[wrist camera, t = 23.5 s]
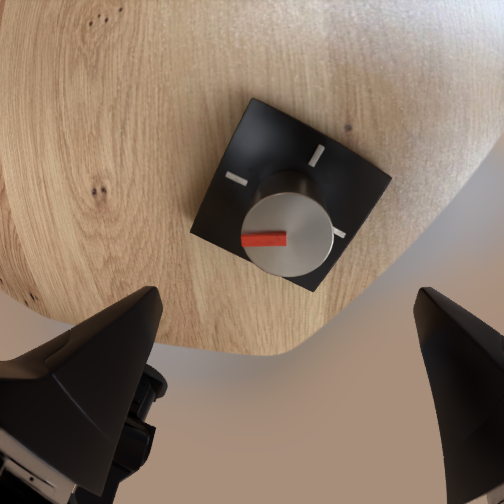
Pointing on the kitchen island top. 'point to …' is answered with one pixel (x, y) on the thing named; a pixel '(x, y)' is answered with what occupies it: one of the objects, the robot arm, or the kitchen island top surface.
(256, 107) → the hob panel
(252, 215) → the hob knob
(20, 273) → the kitchen island top surface
